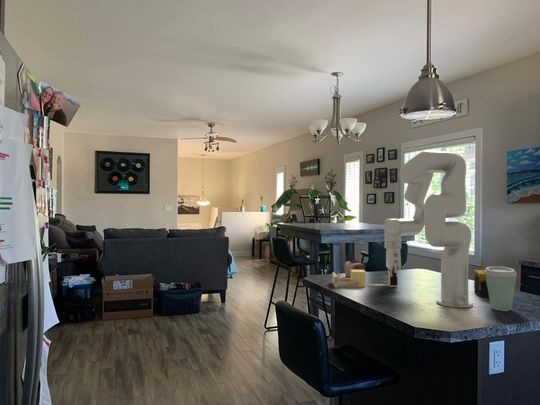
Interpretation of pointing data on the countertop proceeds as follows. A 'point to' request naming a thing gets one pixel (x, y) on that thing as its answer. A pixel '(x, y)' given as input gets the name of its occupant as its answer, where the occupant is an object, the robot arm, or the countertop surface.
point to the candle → (480, 284)
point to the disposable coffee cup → (500, 287)
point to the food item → (353, 267)
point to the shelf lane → (343, 282)
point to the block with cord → (361, 278)
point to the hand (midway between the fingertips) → (392, 284)
